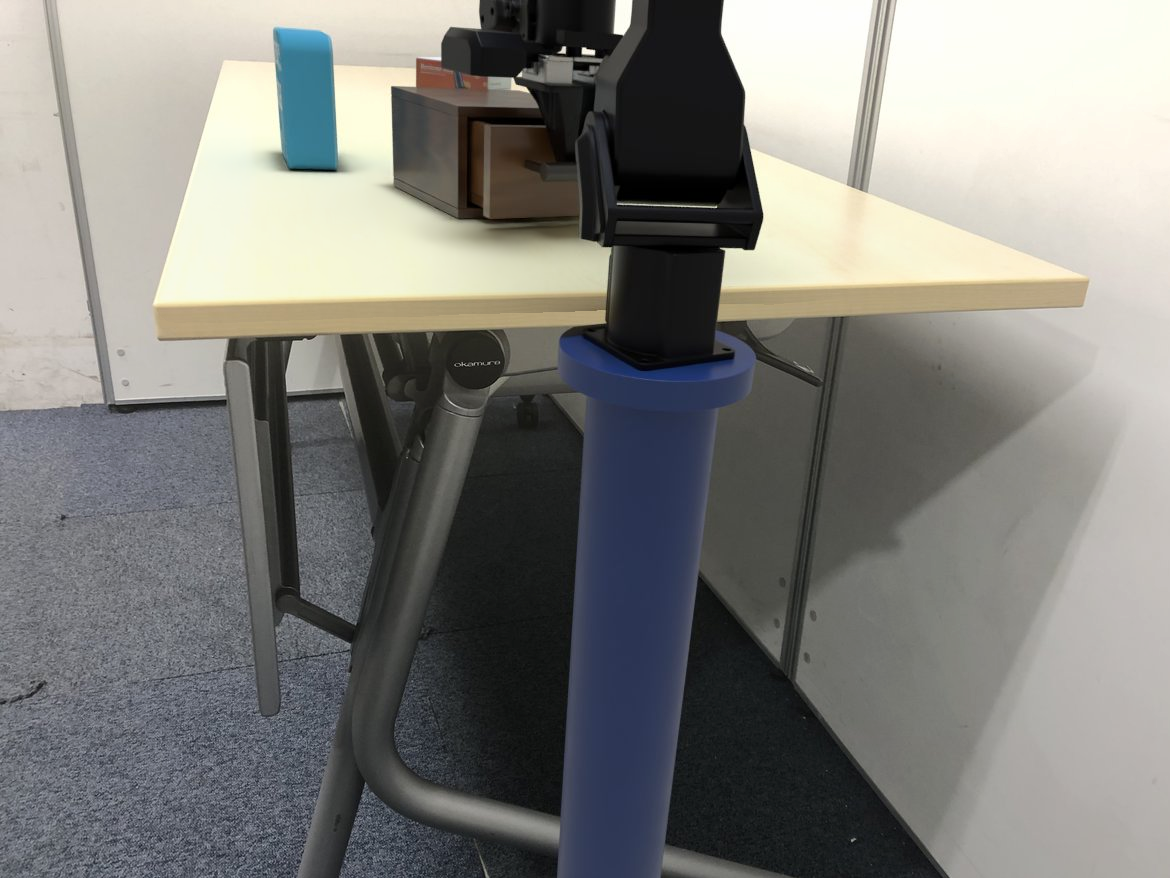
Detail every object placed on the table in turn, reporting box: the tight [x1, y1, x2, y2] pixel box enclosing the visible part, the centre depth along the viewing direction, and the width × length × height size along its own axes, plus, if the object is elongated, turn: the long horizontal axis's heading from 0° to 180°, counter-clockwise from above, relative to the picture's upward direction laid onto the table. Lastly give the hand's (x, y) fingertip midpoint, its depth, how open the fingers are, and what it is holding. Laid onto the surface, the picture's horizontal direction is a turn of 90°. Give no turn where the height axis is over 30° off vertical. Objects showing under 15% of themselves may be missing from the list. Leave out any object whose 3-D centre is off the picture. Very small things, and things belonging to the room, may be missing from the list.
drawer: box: [467, 117, 580, 220], centre depth 81 cm, size 18×11×7 cm, turn 33°
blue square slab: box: [272, 26, 339, 171], centre depth 96 cm, size 12×4×12 cm, turn 21°
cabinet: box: [390, 85, 543, 219], centre depth 86 cm, size 15×13×9 cm
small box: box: [415, 56, 512, 90], centre depth 99 cm, size 8×6×10 cm
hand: (567, 178), depth 76 cm, fingers closed, pressing on drawer
